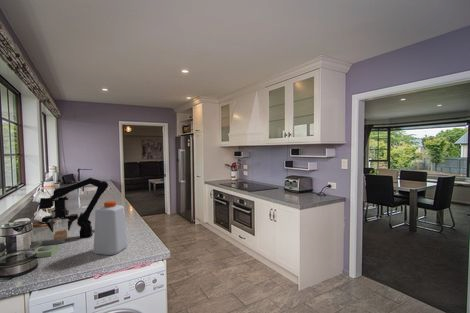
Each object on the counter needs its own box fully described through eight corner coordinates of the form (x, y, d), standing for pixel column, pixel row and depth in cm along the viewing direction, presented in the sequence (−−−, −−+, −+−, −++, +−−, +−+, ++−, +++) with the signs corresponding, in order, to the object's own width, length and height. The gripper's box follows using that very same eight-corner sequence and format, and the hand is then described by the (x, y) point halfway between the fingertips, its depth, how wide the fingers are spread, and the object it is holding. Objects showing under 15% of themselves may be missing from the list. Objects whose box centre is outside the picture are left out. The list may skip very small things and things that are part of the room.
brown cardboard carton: (67, 237, 168) (67, 228, 168) (62, 242, 161) (62, 232, 161) (58, 238, 167) (58, 229, 167) (53, 242, 159) (53, 233, 159)
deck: (66, 242, 160) (65, 237, 160) (51, 256, 139) (51, 250, 139) (42, 244, 156) (41, 239, 156) (23, 258, 136) (23, 253, 136)
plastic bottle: (114, 256, 138) (113, 205, 137) (90, 254, 141) (88, 204, 140) (130, 245, 153) (129, 199, 152) (108, 244, 156) (107, 199, 155)
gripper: (80, 203, 174) (81, 226, 174) (48, 205, 169) (49, 228, 169) (74, 207, 163) (75, 231, 164) (40, 209, 158) (41, 234, 159)
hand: (60, 231), depth 164 cm, fingers open, 9 cm apart
